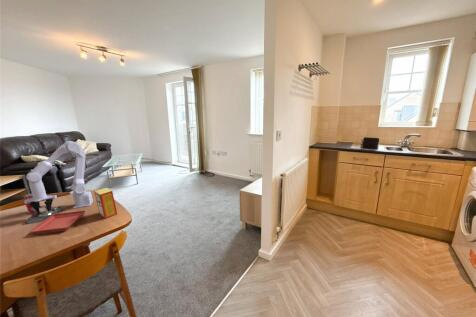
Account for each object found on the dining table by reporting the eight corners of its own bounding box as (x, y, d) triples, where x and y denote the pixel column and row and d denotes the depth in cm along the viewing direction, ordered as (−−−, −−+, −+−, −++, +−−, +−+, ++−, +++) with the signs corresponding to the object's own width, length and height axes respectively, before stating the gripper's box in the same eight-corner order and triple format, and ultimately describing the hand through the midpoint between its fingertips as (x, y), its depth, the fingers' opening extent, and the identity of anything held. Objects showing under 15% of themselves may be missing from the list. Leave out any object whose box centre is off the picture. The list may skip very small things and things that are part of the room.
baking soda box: (99, 214, 121) (94, 190, 117) (111, 209, 126) (106, 187, 122) (105, 219, 115) (99, 194, 111) (117, 214, 120) (112, 190, 116)
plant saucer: (29, 237, 101) (27, 231, 100) (54, 218, 118) (53, 213, 117) (68, 232, 104) (67, 226, 103) (87, 214, 121) (86, 210, 120)
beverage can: (44, 209, 130) (39, 192, 127) (34, 214, 124) (28, 197, 121) (36, 209, 130) (31, 192, 127) (25, 214, 124) (20, 196, 121)
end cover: (56, 212, 125) (53, 202, 123) (50, 217, 119) (47, 207, 117) (42, 215, 123) (38, 204, 121) (35, 220, 116) (32, 210, 114)
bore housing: (62, 209, 128) (61, 205, 127) (53, 219, 117) (52, 214, 117) (39, 213, 124) (37, 209, 123) (27, 223, 113) (26, 219, 112)
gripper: (18, 196, 110) (25, 217, 114) (50, 191, 115) (56, 211, 119) (25, 191, 117) (32, 211, 120) (56, 187, 122) (61, 206, 125)
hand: (44, 211), depth 120 cm, fingers closed on end cover, 4 cm apart
